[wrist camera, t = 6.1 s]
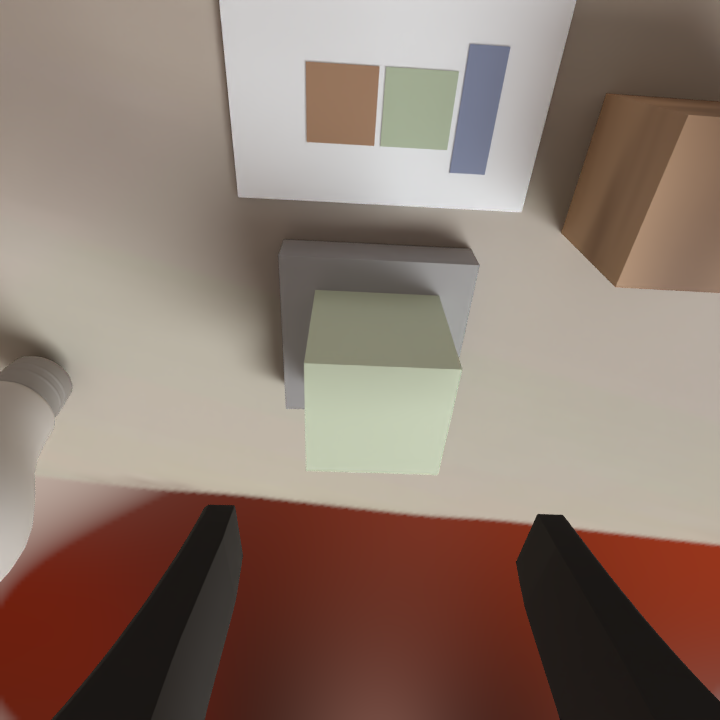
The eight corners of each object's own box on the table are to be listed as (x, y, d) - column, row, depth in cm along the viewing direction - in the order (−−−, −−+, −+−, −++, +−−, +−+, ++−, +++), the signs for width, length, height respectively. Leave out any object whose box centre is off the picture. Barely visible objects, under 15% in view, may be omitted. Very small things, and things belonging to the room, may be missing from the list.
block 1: (439, 295, 17) (462, 369, 13) (422, 391, 19) (438, 475, 16) (315, 289, 17) (303, 363, 13) (315, 387, 19) (305, 471, 16)
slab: (470, 248, 17) (479, 265, 16) (441, 392, 21) (446, 414, 20) (283, 239, 17) (278, 255, 16) (289, 386, 21) (285, 408, 20)
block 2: (742, 102, 15) (870, 127, 11) (677, 238, 17) (763, 295, 14) (605, 93, 15) (688, 114, 11) (560, 232, 17) (615, 287, 14)
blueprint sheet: (574, -1, 13) (577, -2, 13) (520, 211, 17) (521, 212, 16) (217, -27, 13) (216, -28, 13) (239, 195, 16) (237, 197, 16)
